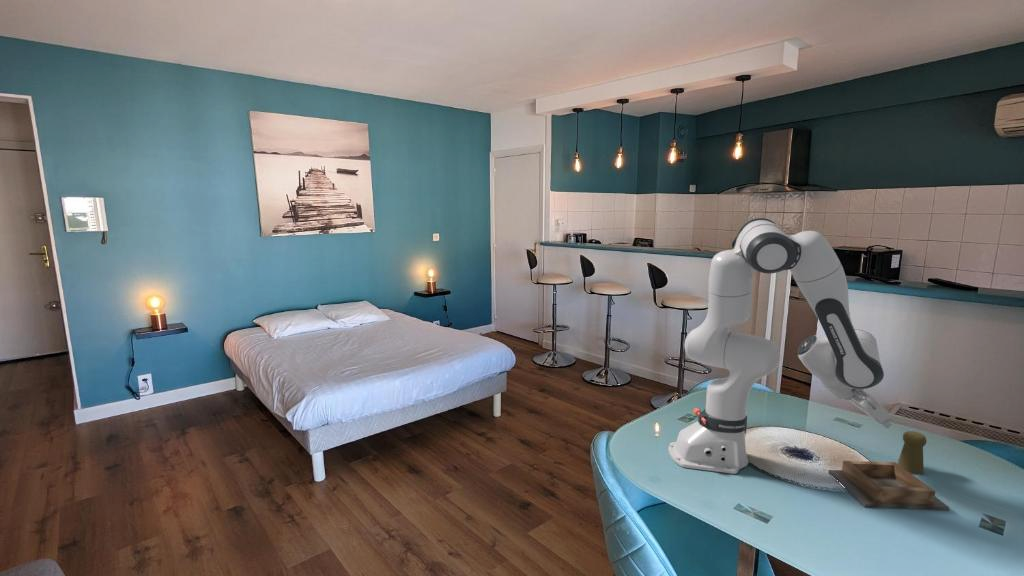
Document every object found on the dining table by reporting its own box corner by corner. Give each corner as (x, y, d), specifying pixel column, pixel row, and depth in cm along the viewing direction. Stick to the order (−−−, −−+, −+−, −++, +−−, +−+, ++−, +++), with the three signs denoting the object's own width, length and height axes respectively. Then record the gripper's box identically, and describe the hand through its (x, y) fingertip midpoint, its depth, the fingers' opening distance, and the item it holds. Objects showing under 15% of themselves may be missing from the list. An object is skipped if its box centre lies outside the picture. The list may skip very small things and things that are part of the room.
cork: (928, 475, 136) (934, 439, 134) (904, 473, 137) (909, 437, 135) (915, 464, 142) (920, 429, 140) (892, 462, 143) (897, 427, 141)
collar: (864, 507, 121) (866, 491, 120) (828, 473, 137) (829, 458, 136) (948, 510, 120) (951, 494, 119) (902, 475, 136) (904, 460, 135)
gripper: (875, 390, 126) (912, 428, 126) (836, 365, 146) (868, 397, 146) (854, 405, 127) (890, 442, 127) (818, 378, 147) (850, 410, 147)
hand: (878, 418), depth 137 cm, fingers open, 8 cm apart
